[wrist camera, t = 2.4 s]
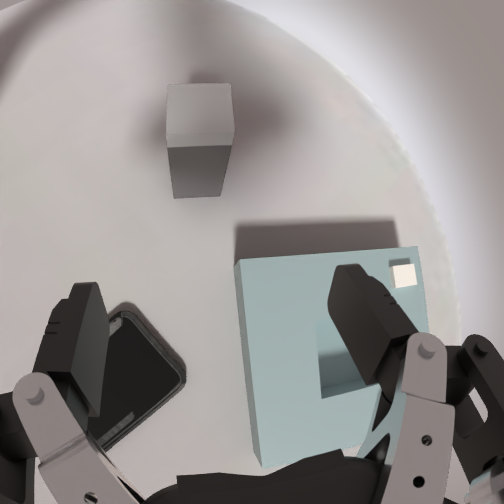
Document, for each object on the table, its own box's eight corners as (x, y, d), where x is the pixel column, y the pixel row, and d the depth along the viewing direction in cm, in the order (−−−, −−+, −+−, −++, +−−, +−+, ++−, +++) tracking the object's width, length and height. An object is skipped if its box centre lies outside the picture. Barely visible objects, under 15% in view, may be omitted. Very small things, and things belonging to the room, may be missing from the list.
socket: (254, 452, 23) (264, 472, 19) (233, 267, 26) (240, 257, 22) (409, 409, 26) (435, 417, 22) (396, 254, 29) (421, 244, 25)
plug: (174, 198, 26) (165, 134, 17) (173, 158, 27) (168, 84, 17) (220, 196, 27) (235, 132, 17) (217, 156, 28) (230, 83, 18)
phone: (16, 407, 19) (126, 304, 23) (22, 405, 20) (128, 305, 24) (75, 476, 19) (193, 381, 23) (79, 471, 20) (193, 378, 24)
